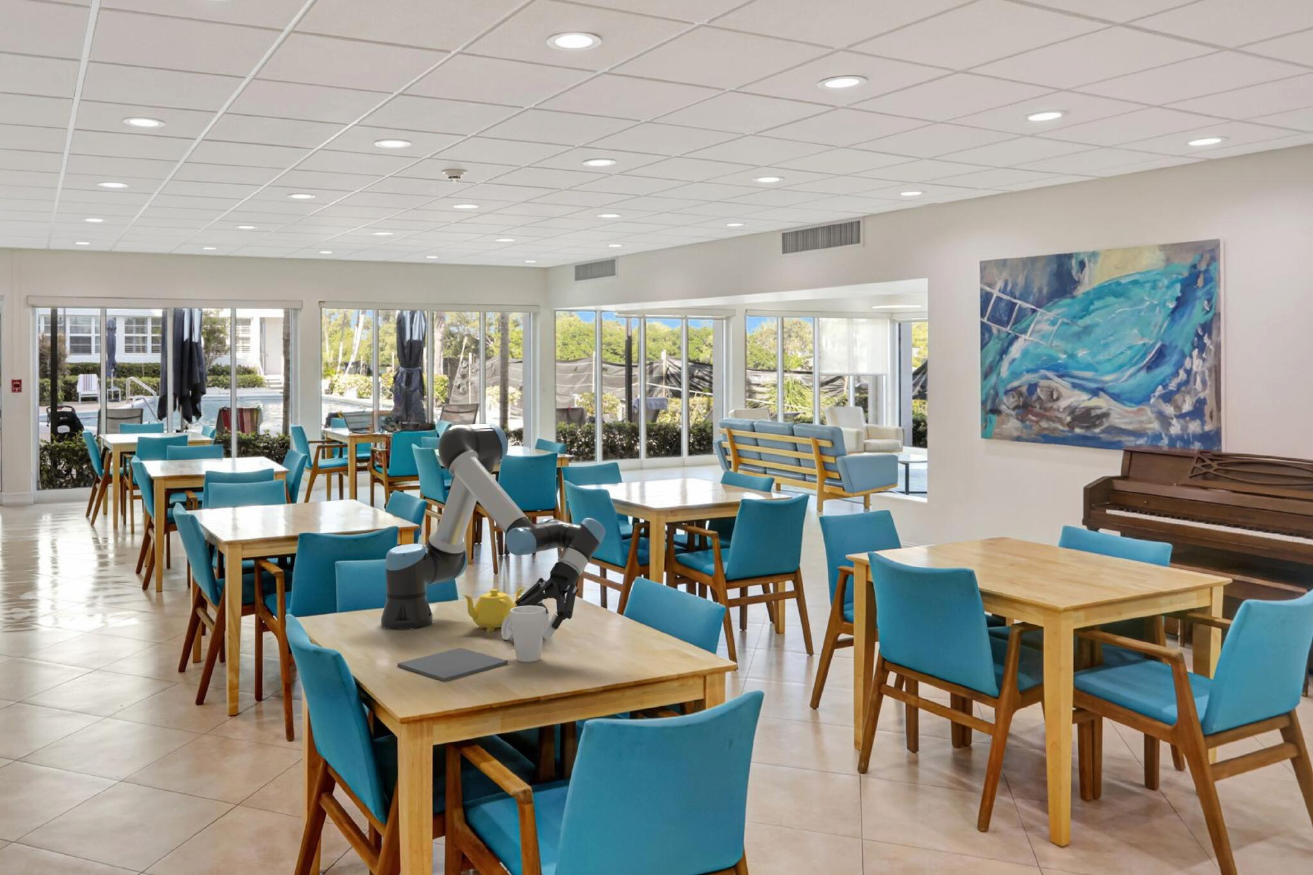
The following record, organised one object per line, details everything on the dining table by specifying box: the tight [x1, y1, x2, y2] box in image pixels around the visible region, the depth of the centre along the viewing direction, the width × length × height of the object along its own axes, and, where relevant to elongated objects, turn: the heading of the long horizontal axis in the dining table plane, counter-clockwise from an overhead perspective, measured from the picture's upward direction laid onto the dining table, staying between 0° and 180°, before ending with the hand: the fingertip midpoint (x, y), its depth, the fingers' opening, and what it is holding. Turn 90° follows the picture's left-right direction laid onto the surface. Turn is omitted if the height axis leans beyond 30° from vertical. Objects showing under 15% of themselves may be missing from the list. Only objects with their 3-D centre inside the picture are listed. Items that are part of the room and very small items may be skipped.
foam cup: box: [510, 606, 546, 663], centre depth 270 cm, size 10×9×13 cm
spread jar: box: [500, 595, 550, 641], centre depth 291 cm, size 12×11×12 cm
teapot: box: [462, 586, 526, 633], centre depth 302 cm, size 20×15×12 cm
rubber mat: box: [397, 647, 509, 682], centre depth 264 cm, size 20×20×1 cm
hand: (527, 633), depth 269 cm, fingers open, 13 cm apart
